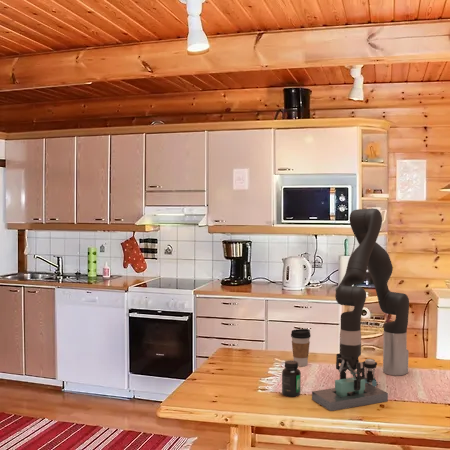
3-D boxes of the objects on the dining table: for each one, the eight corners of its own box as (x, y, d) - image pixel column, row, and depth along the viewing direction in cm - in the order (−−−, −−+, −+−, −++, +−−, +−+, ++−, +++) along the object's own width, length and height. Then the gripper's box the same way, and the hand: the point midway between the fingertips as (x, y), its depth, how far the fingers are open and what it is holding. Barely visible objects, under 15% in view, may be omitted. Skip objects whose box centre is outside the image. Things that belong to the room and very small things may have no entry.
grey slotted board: (367, 390, 219) (367, 382, 219) (387, 401, 208) (387, 393, 208) (311, 399, 210) (312, 391, 210) (330, 411, 199) (330, 402, 199)
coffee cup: (311, 367, 248) (311, 332, 248) (291, 367, 248) (291, 332, 248) (309, 361, 257) (309, 328, 256) (289, 361, 257) (290, 327, 256)
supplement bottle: (303, 396, 213) (303, 364, 212) (285, 398, 212) (285, 365, 211) (296, 390, 220) (297, 359, 219) (279, 391, 218) (279, 360, 218)
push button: (379, 383, 227) (379, 358, 226) (381, 388, 222) (382, 362, 221) (361, 383, 228) (362, 358, 227) (363, 387, 222) (364, 362, 222)
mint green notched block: (358, 396, 213) (358, 376, 212) (364, 400, 209) (365, 379, 208) (334, 400, 209) (335, 380, 208) (341, 404, 205) (341, 383, 205)
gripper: (371, 345, 203) (370, 391, 203) (347, 336, 216) (347, 379, 217) (353, 347, 200) (352, 394, 201) (330, 338, 213) (329, 381, 214)
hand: (349, 386), depth 209 cm, fingers open, 8 cm apart
